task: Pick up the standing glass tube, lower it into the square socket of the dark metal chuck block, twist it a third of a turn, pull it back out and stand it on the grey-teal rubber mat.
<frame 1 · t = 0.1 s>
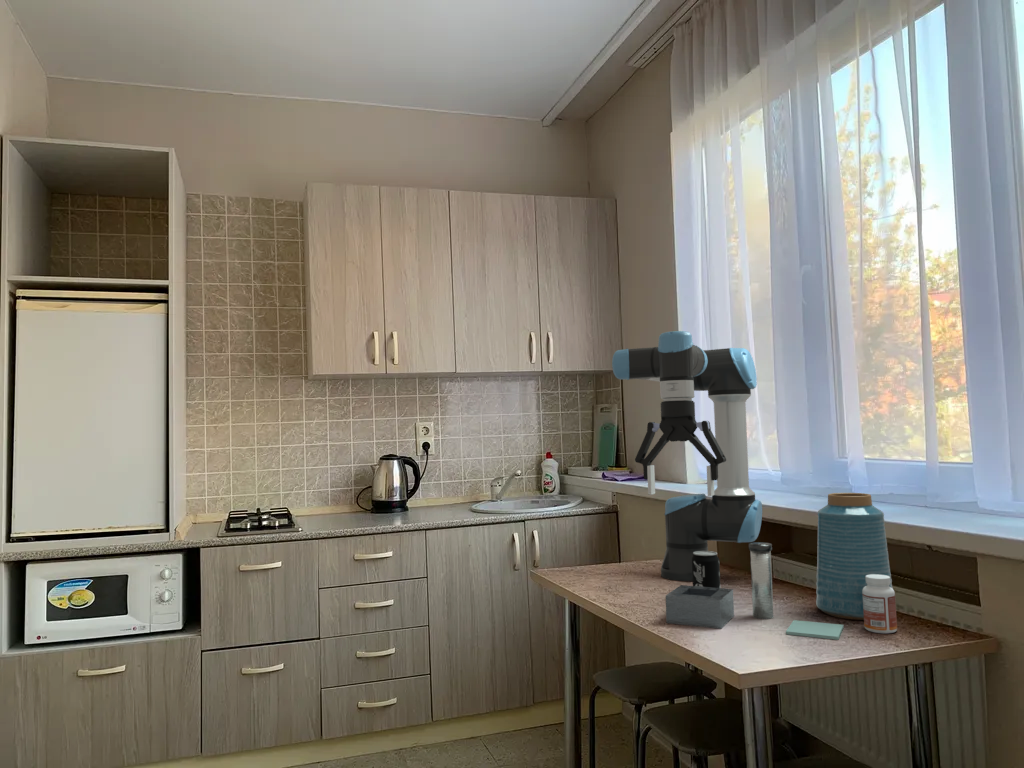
hand: (680, 495, 170), 28 cm above the table, fingers open, 13 cm apart
glass tube: (763, 616, 171), on the table
beverage can: (707, 603, 186), on the table
pill bottle: (880, 631, 158), on the table
mat: (815, 630, 158), on the table
vase: (855, 613, 173), on the table
chuck block: (700, 619, 170), on the table
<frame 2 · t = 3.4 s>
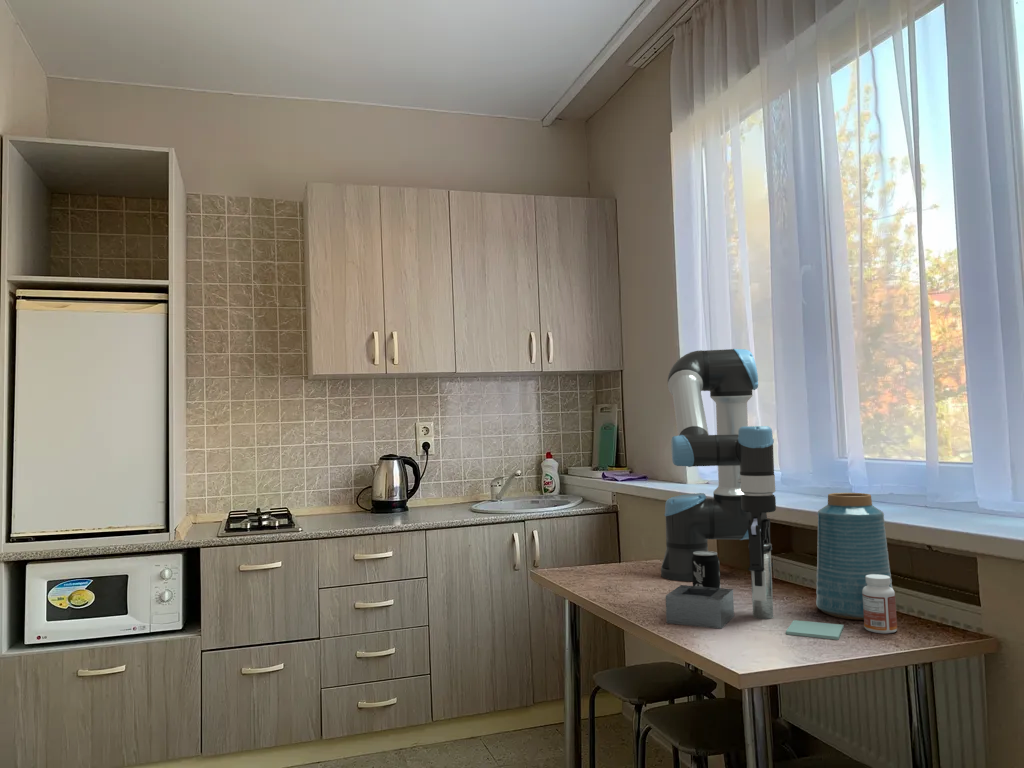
hand: (762, 597, 171), 4 cm above the table, fingers closed on glass tube, 4 cm apart
glass tube: (763, 616, 171), on the table, touching gripper
everything else where it was.
when the fingers open (5 cm above the table, at t = 16.9 s): glass tube stays where it is, resting on mat.
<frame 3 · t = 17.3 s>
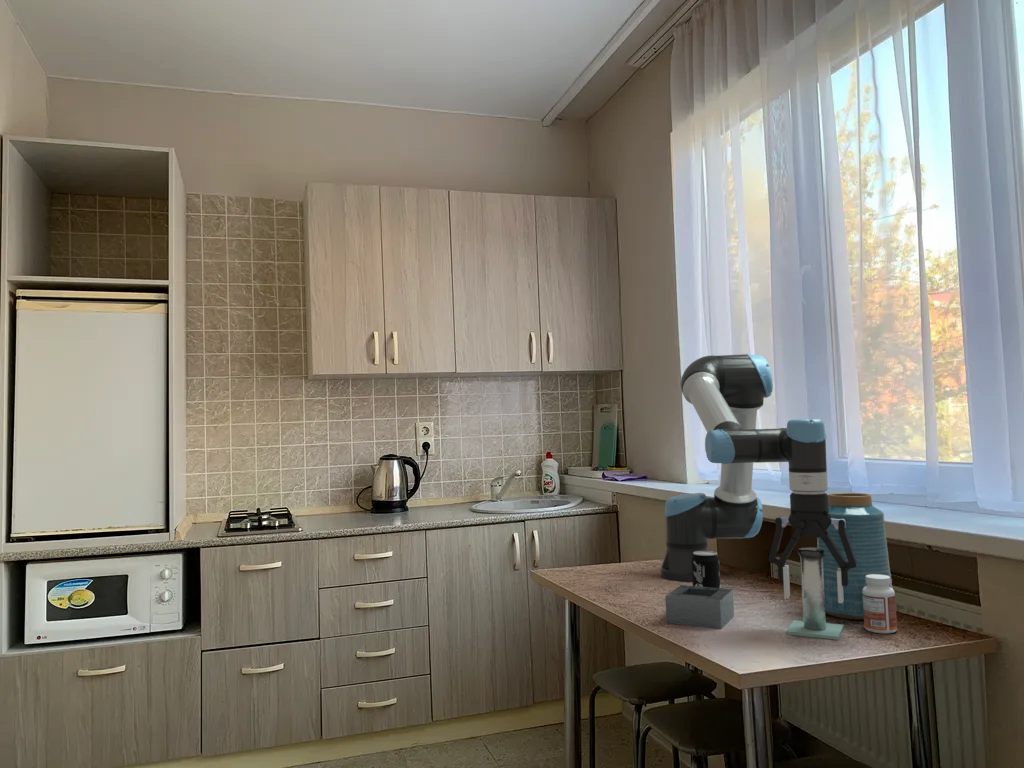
hand: (813, 599, 159), 6 cm above the table, fingers open, 10 cm apart
glass tube: (814, 627, 158), point 1 cm above the table, touching mat
everything else where it was.
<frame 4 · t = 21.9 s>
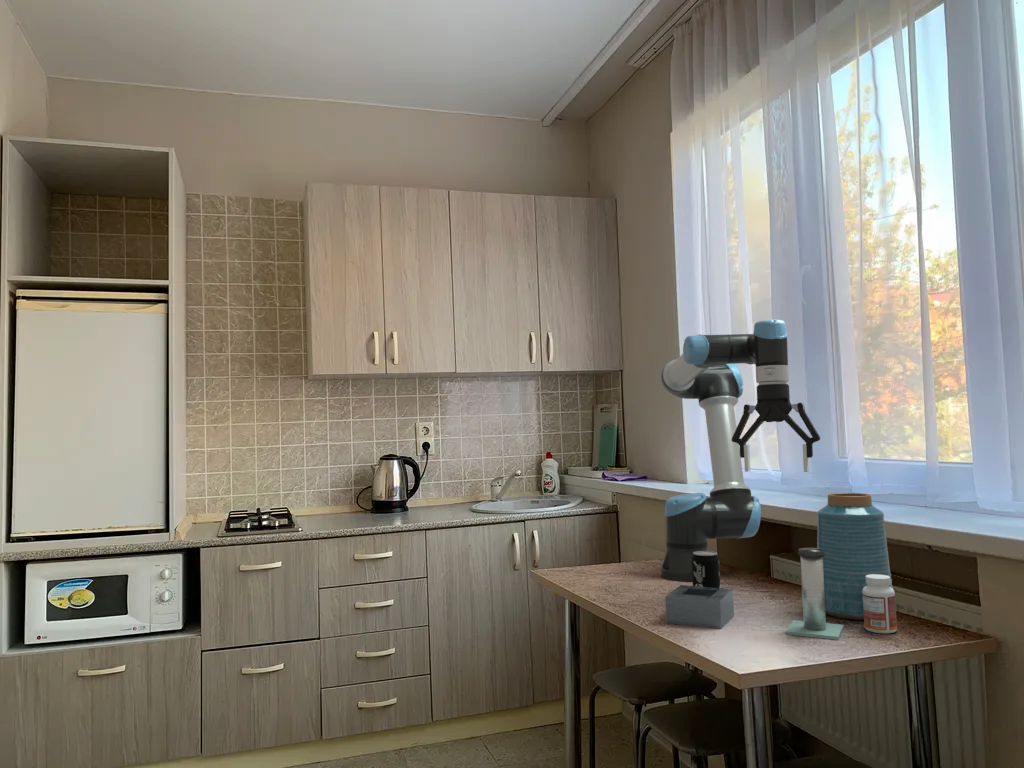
hand: (776, 471, 183), 32 cm above the table, fingers open, 13 cm apart
nothing on the table moved.
at the end: glass tube inside the target area on the mat (0.0 cm from its centre), point 0.6 cm above the mat's base; glass tube tilted 0°; the gripper is holding nothing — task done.
